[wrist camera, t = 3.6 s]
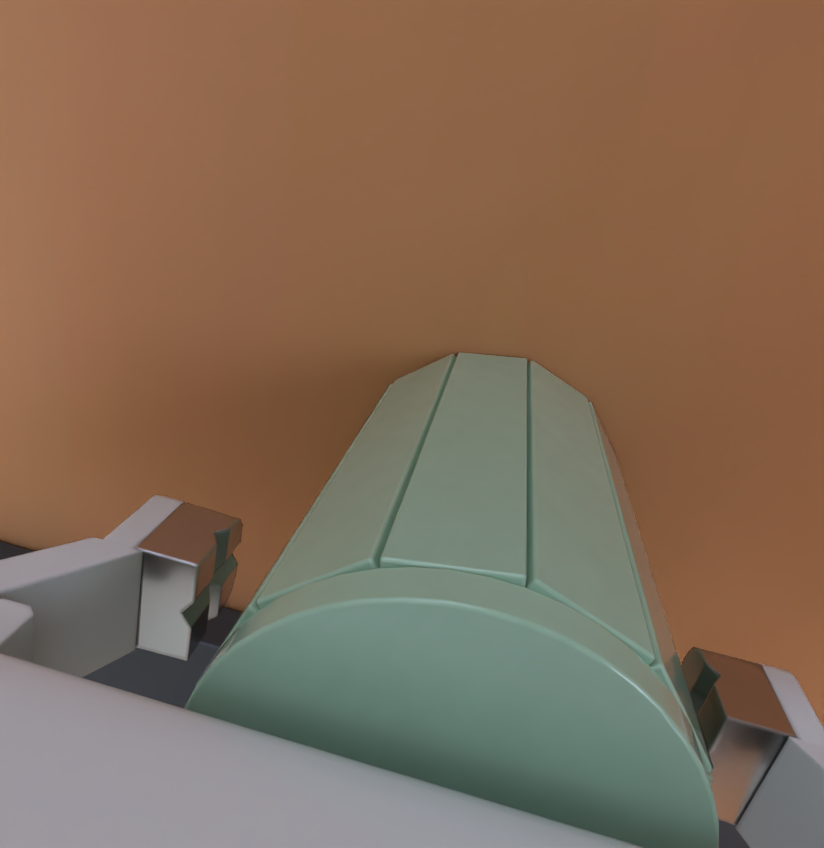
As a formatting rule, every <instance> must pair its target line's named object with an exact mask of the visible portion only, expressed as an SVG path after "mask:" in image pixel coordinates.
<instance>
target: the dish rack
mask: <svg viewBox="0 0 824 848" xmlns="http://www.w3.org/2000/svg"><path fill="white" fill-rule="evenodd" d="M31 552H35V551H31V550H28V549H24V548H21V547H17V546H14V545H11V544H7V543H4V542H0V560H2V559H6V558H10V557H14V556H18V555H23V554H27V553H31ZM241 613H242V612H239V611H235V610H232V609H229V608H225V607H224V608H223V609H222V611H221V612H220V614H219V615H218V616H217V617H215V618H212V619H210V620H208V622H207V629H206V634H205V636H204V637H203V638H202V640H201V641H200V643H199V644H198V646H197V647H196V648H195V650H194V651H193V653H192V654H191V656H190V657H189V658H188V660H187V661H186V660H182V659H178V658H174V657H171V656H167V655H163V654H159V653H156V652H152V651H148V650H144V649H140V648H137V647H135V650H134V651H132V652H130V653H128V654H126V655H125V656H123V657H121V658H119V659H117V660H115V661H113V662H111V663H109V664H107V665H105V666H103V667H101V668H99V669H97V670H96V671H94V672H92V673H90V674H88V675H86V676H84V677H82V678H85V679H88V680H91V681H95V682H98V683H101V684H105V685H108V686H111V687H115V688H118V689H121V690H125V691H128V692H131V693H135V694H138V695H141V696H144V697H148V698H151V699H154V700H158V701H161V702H164V703H168V704H171V705H174V706H178V707H181V708H184V706H185V704H186V703H187V701H188V699H189V697H190V695H191V693H192V692H193V690H194V688H195V685H196V683H197V681H198V680H199V678H200V676H201V675H202V673H203V672H204V670H205V669H206V667H207V666H208V664H209V663H210V661H211V659H212V658H213V656H214V655H215V653H216V652H217V650H218V649H219V647H220V645H221V644H222V642H223V641H224V639H225V638H226V636H227V635H228V633H229V632H230V630H231V628H232V627H233V625H234V624H235V622H236V621H237V619H238V618H239V616H240V614H241ZM719 848H750V847H749V846H748V845H747V843H746V842H745V840H744V839H743V838H742V836H741V835H740V834H739V832H738V831H737V830H736V825H733V824H730V823H727V822H724V821H721V820H719Z"/></svg>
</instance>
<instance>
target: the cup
mask: <svg viewBox="0 0 824 848" xmlns="http://www.w3.org/2000/svg"><path fill="white" fill-rule="evenodd" d="M184 709H187V710H191V711H194V712H197V713H201V714H204V715H207V716H211V717H214V718H217V719H221V720H224V721H227V722H231V723H234V724H237V725H240V726H244V727H247V728H250V729H254V730H257V731H260V732H264V733H267V734H270V735H274V736H277V737H280V738H283V739H287V740H290V741H293V742H297V743H300V744H303V745H307V746H310V747H313V748H317V749H320V750H323V751H327V752H330V753H333V754H336V755H340V756H343V757H346V758H350V759H353V760H356V761H360V762H363V763H366V764H370V765H373V766H376V767H380V768H383V769H386V770H389V771H393V772H396V773H399V774H403V775H406V776H409V777H413V778H416V779H419V780H423V781H426V782H429V783H432V784H436V785H439V786H442V787H446V788H449V789H452V790H456V791H459V792H462V793H466V794H469V795H472V796H476V797H479V798H482V799H485V800H489V801H492V802H495V803H499V804H502V805H505V806H509V807H512V808H515V809H519V810H522V811H525V812H528V813H532V814H535V815H538V816H542V817H545V818H548V819H552V820H555V821H558V822H562V823H565V824H568V825H572V826H575V827H578V828H582V829H585V830H588V831H592V832H595V833H598V834H601V835H605V836H608V837H611V838H615V839H618V840H621V841H625V842H628V843H631V844H635V845H638V846H641V847H645V848H719V820H718V815H717V809H716V804H715V799H714V793H713V790H712V787H711V785H712V782H713V777H712V774H711V771H712V765H711V762H710V759H709V755H708V752H707V749H706V746H705V742H704V739H703V736H702V733H701V729H700V726H699V723H698V720H697V717H696V713H695V710H694V707H693V704H692V700H691V697H690V694H689V691H688V687H687V684H686V681H685V678H684V674H683V671H682V668H681V665H680V661H679V658H678V655H677V652H676V648H675V645H674V642H673V639H672V635H671V632H670V629H669V626H668V622H667V619H666V616H665V613H664V610H663V606H662V603H661V600H660V597H659V593H658V590H657V587H656V584H655V580H654V577H653V574H652V571H651V567H650V564H649V561H648V558H647V554H646V551H645V548H644V545H643V541H642V538H641V535H640V532H639V528H638V525H637V522H636V519H635V516H634V512H633V509H632V506H631V503H630V499H629V496H628V493H627V490H626V486H625V483H624V480H623V477H622V473H621V470H620V467H619V464H618V460H617V458H616V455H615V453H614V451H613V449H612V446H611V444H610V442H609V440H608V438H607V435H606V433H605V431H604V429H603V426H602V424H601V422H600V420H599V418H598V415H597V413H596V411H595V409H594V406H593V404H592V403H591V402H589V401H588V398H587V397H586V396H584V395H583V394H581V393H580V392H578V391H577V390H576V389H574V388H573V387H571V386H570V385H568V384H567V383H565V382H564V381H562V380H561V379H559V378H558V377H556V376H555V375H553V374H552V373H550V372H549V371H548V370H546V369H545V368H543V367H542V366H540V365H539V364H537V363H536V362H534V361H532V360H531V361H530V362H529V363H528V365H527V359H526V358H519V357H507V356H495V355H483V354H471V353H458V354H457V357H455V355H454V354H450V355H448V356H446V357H444V358H442V359H440V360H437V361H435V362H433V363H431V364H429V365H427V366H424V367H422V368H420V369H418V370H416V371H414V372H411V373H409V374H407V375H405V376H403V377H401V378H398V379H396V380H395V381H394V382H393V384H390V385H389V387H388V388H387V390H386V391H385V393H384V394H383V396H382V397H381V399H380V400H379V402H378V403H377V405H376V406H375V408H374V409H373V411H372V412H371V414H370V415H369V417H368V418H367V420H366V421H365V423H364V424H363V426H362V427H361V429H360V430H359V432H358V433H357V435H356V436H355V438H354V439H353V441H352V443H351V444H350V446H349V447H348V449H347V450H346V452H345V453H344V455H343V457H342V458H341V460H340V461H339V463H338V464H337V466H336V467H335V469H334V470H333V472H332V474H331V475H330V477H329V478H328V480H327V481H326V483H325V484H324V486H323V487H322V489H321V491H320V492H319V494H318V495H317V497H316V498H315V500H314V501H313V503H312V505H311V506H310V508H309V509H308V511H307V512H306V514H305V515H304V517H303V518H302V520H301V522H300V523H299V525H298V526H297V528H296V529H295V531H294V532H293V534H292V536H291V537H290V539H289V540H288V542H287V543H286V545H285V546H284V548H283V549H282V551H281V553H280V554H279V556H278V557H277V559H276V560H275V562H274V563H273V565H272V566H271V568H270V570H269V571H268V573H267V574H266V576H265V577H264V579H263V580H262V582H261V584H260V585H259V587H258V588H257V590H256V591H255V593H254V594H253V596H252V597H251V599H250V601H249V602H248V604H247V605H246V607H245V608H244V610H243V611H242V613H241V614H240V616H239V618H238V619H237V621H236V622H235V624H234V625H233V627H232V628H231V630H230V632H229V633H228V635H227V636H226V638H225V639H224V641H223V642H222V644H221V645H220V647H219V649H218V650H217V652H216V653H215V655H214V656H213V658H212V659H211V661H210V663H209V664H208V666H207V667H206V669H205V670H204V672H203V673H202V675H201V676H200V678H199V680H198V681H197V683H196V685H195V688H194V690H193V692H192V693H191V695H190V697H189V699H188V701H187V703H186V704H185V706H184Z"/></svg>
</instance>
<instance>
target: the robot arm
mask: <svg viewBox="0 0 824 848" xmlns="http://www.w3.org/2000/svg"><path fill="white" fill-rule="evenodd" d="M242 527H243V524H242V521H241V519H239V518H236V517H233V516H229V515H226V514H223V513H220V512H216V511H213V510H210V509H206V508H203V507H200V506H196V505H193V504H190V503H185V502H184V501H180V500H176V499H173V498H169V497H165V496H162V495H155V496H153V497H151V498H150V499H149V500H148V501H147V502H145V503H144V504H143V505H142V506H141V507H140V508H138V509H137V510H136V511H135V512H134V513H133V514H131V515H130V516H129V517H128V518H127V519H126V520H124V521H123V522H122V523H121V524H120V525H119V526H117V527H116V528H115V529H114V530H113V531H112V532H110V533H109V534H108V535H107V536H106V537H105V538H103V539H99V538H95V537H92V538H88V539H84V540H80V541H76V542H72V543H68V544H64V545H59V546H55V547H51V548H47V549H43V550H39V551H35V552H31V553H27V554H23V555H18V556H14V557H10V558H6V559H2V560H0V848H645V847H641V846H638V845H635V844H631V843H628V842H625V841H621V840H618V839H615V838H611V837H608V836H605V835H601V834H598V833H595V832H592V831H588V830H585V829H582V828H578V827H575V826H572V825H568V824H565V823H562V822H558V821H555V820H552V819H548V818H545V817H542V816H538V815H535V814H532V813H528V812H525V811H522V810H519V809H515V808H512V807H509V806H505V805H502V804H499V803H495V802H492V801H489V800H485V799H482V798H479V797H476V796H472V795H469V794H466V793H462V792H459V791H456V790H452V789H449V788H446V787H442V786H439V785H436V784H432V783H429V782H426V781H423V780H419V779H416V778H413V777H409V776H406V775H403V774H399V773H396V772H393V771H389V770H386V769H383V768H380V767H376V766H373V765H370V764H366V763H363V762H360V761H356V760H353V759H350V758H346V757H343V756H340V755H336V754H333V753H330V752H327V751H323V750H320V749H317V748H313V747H310V746H307V745H303V744H300V743H297V742H293V741H290V740H287V739H283V738H280V737H277V736H274V735H270V734H267V733H264V732H260V731H257V730H254V729H250V728H247V727H244V726H240V725H237V724H234V723H231V722H227V721H224V720H221V719H217V718H214V717H211V716H207V715H204V714H201V713H197V712H194V711H191V710H187V709H184V708H181V707H178V706H174V705H171V704H168V703H164V702H161V701H158V700H154V699H151V698H148V697H144V696H141V695H138V694H135V693H131V692H128V691H125V690H121V689H118V688H115V687H111V686H108V685H105V684H101V683H98V682H95V681H91V680H88V679H85V678H82V677H84V676H86V675H88V674H90V673H92V672H94V671H96V670H97V669H99V668H101V667H103V666H105V665H107V664H109V663H111V662H113V661H115V660H117V659H119V658H121V657H123V656H125V655H126V654H128V653H130V652H132V651H134V650H135V647H137V648H140V649H144V650H148V651H152V652H156V653H159V654H163V655H167V656H171V657H174V658H178V659H182V660H186V661H187V660H188V658H189V657H190V656H191V654H192V653H193V651H194V650H195V648H196V647H197V646H198V644H199V643H200V641H201V640H202V638H203V637H204V636H205V634H206V629H207V622H208V620H210V619H212V618H215V617H217V616H218V615H219V614H220V612H221V611H222V609H223V608H224V606H225V605H226V602H227V600H228V598H229V595H230V593H231V591H232V588H233V585H234V581H235V577H236V572H237V565H238V563H237V561H236V559H235V557H234V555H233V551H234V550H235V549H236V547H237V546H238V545H239V543H240V542H241V536H242ZM681 668H682V671H683V674H684V678H685V681H686V684H687V687H688V691H689V694H690V697H691V700H692V704H693V707H694V710H695V713H696V717H697V720H698V723H699V726H700V729H701V733H702V736H703V739H704V742H705V746H706V749H707V752H708V755H709V759H710V762H711V765H712V771H711V774H712V777H713V782H712V785H711V787H712V790H713V793H714V799H715V804H716V809H717V815H718V820H721V821H724V822H727V823H730V824H733V825H736V830H737V831H738V832H739V834H740V835H741V836H742V838H743V839H744V840H745V842H746V843H747V845H748V846H749V847H750V848H824V728H823V727H822V725H821V723H820V721H819V719H818V717H817V716H816V714H815V712H814V710H813V708H812V706H811V705H810V703H809V701H808V699H807V697H806V696H805V694H804V692H803V690H802V688H801V686H800V685H799V683H798V681H797V679H796V677H795V676H794V675H793V674H791V673H790V672H789V671H788V670H784V669H780V668H776V667H771V666H767V665H763V664H759V663H753V662H749V661H746V660H742V659H738V658H734V657H730V656H726V655H723V654H719V653H715V652H711V651H707V650H703V649H700V648H696V647H693V648H692V649H691V650H690V651H689V652H688V653H687V654H686V656H685V658H684V660H683V662H682V664H681Z"/></svg>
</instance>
